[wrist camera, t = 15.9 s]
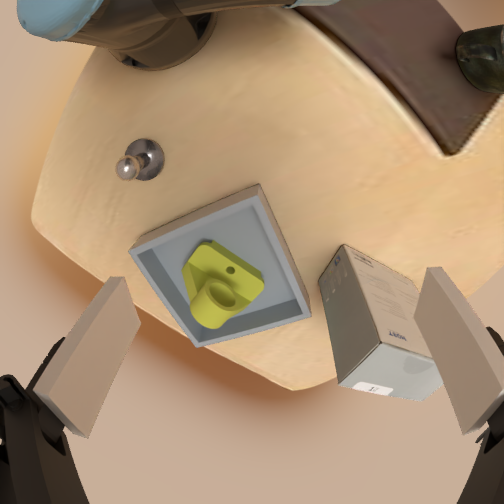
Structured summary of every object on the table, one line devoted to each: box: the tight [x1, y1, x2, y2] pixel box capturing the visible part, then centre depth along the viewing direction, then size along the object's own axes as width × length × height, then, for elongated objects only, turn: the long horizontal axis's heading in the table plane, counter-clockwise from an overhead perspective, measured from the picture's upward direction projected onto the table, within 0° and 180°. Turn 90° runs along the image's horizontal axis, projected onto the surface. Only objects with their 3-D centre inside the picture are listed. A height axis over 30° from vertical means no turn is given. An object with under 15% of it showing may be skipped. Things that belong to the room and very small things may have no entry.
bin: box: [128, 184, 312, 347], centre depth 43 cm, size 20×20×5 cm
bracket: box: [181, 240, 264, 329], centre depth 40 cm, size 11×6×10 cm, turn 54°
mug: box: [456, 25, 504, 94], centre depth 21 cm, size 11×15×12 cm
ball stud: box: [116, 138, 164, 181], centre depth 35 cm, size 6×6×7 cm
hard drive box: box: [318, 245, 444, 401], centre depth 36 cm, size 16×8×20 cm, turn 65°
